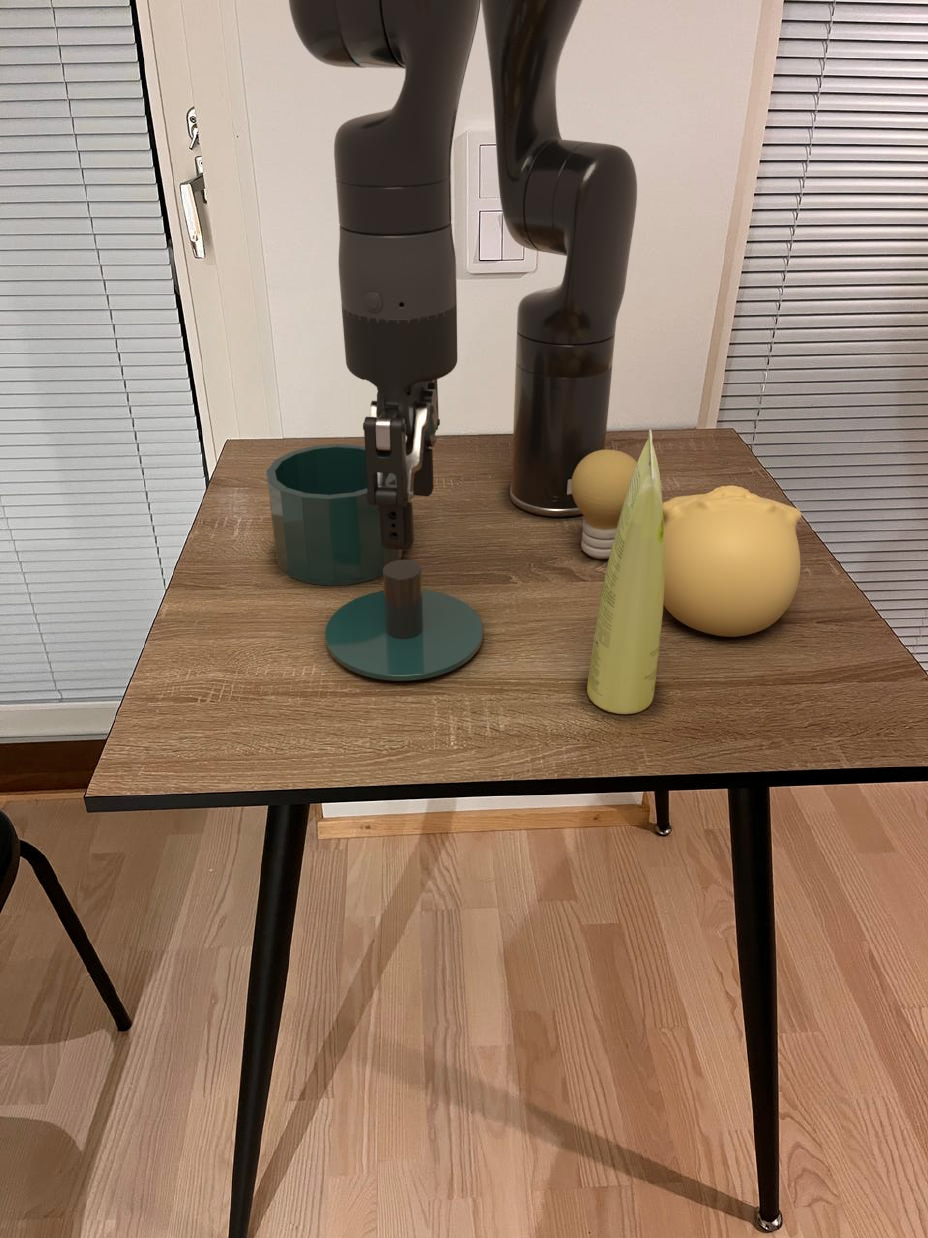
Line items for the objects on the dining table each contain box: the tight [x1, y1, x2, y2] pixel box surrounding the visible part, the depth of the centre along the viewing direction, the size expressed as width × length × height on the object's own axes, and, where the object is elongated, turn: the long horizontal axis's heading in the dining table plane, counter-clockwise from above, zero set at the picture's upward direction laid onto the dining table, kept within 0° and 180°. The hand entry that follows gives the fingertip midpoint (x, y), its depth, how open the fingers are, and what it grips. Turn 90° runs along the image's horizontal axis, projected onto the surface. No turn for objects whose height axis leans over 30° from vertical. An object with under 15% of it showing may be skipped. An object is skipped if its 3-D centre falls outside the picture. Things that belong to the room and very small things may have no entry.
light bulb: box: [571, 449, 638, 560], centre depth 87 cm, size 6×6×10 cm
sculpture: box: [662, 485, 802, 638], centre depth 78 cm, size 12×12×11 cm
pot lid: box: [324, 559, 484, 682], centre depth 75 cm, size 13×13×7 cm
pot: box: [265, 443, 403, 587], centre depth 87 cm, size 12×12×8 cm
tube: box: [586, 428, 665, 715], centre depth 65 cm, size 6×5×20 cm
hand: (409, 518), depth 71 cm, fingers open, 8 cm apart
